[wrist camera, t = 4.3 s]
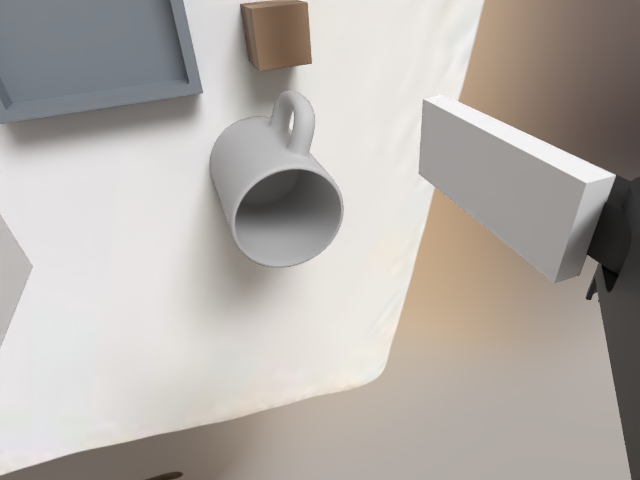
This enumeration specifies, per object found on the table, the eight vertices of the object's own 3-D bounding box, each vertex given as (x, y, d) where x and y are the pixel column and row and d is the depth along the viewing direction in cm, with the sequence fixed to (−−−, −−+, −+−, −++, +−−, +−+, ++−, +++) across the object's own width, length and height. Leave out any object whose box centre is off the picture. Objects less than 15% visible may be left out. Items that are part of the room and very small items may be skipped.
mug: (288, 208, 42) (325, 272, 33) (201, 197, 38) (219, 266, 30) (323, 87, 36) (378, 126, 28) (226, 61, 33) (256, 98, 24)
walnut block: (248, 60, 33) (259, 71, 30) (240, 3, 31) (251, 8, 28) (296, 54, 34) (311, 63, 31) (291, -2, 32) (307, 2, 29)
